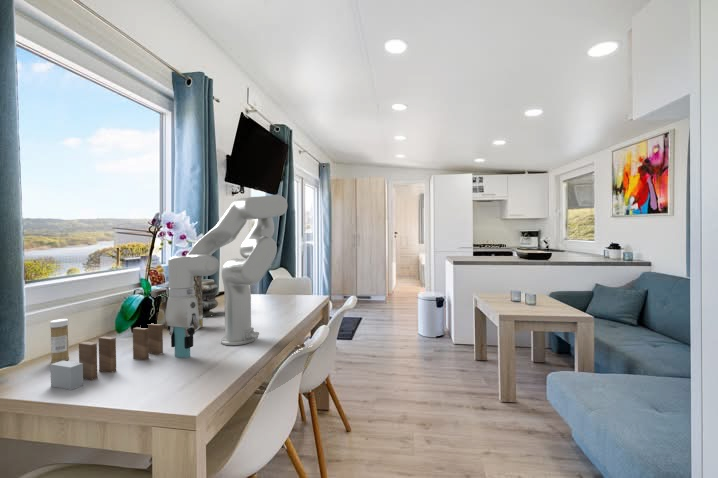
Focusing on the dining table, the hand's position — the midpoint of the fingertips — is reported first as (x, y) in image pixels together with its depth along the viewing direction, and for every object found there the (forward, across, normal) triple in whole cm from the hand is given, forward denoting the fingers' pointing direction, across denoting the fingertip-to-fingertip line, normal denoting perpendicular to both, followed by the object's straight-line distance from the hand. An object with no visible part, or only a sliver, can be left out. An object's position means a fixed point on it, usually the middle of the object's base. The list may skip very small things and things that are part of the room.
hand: (182, 346), depth 116 cm
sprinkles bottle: (+4, +36, +15) cm, 39 cm away
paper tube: (+4, +24, -30) cm, 39 cm away
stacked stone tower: (+4, +38, -52) cm, 65 cm away
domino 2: (+4, +12, +16) cm, 21 cm away
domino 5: (+4, 0, 0) cm, 4 cm away
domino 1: (+4, +12, +22) cm, 25 cm away
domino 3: (+4, +12, +6) cm, 14 cm away
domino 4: (+4, +12, 0) cm, 13 cm away
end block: (+3, +12, +28) cm, 30 cm away
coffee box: (+4, +45, -28) cm, 53 cm away
